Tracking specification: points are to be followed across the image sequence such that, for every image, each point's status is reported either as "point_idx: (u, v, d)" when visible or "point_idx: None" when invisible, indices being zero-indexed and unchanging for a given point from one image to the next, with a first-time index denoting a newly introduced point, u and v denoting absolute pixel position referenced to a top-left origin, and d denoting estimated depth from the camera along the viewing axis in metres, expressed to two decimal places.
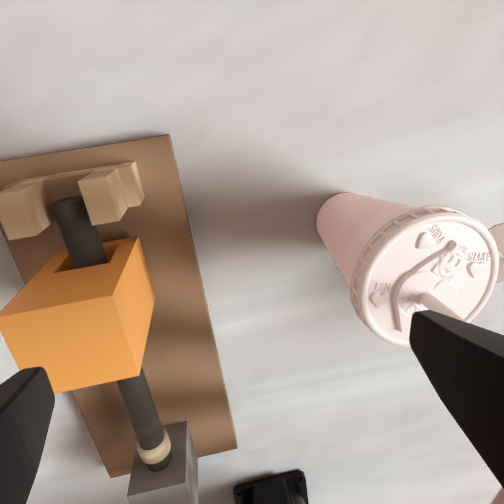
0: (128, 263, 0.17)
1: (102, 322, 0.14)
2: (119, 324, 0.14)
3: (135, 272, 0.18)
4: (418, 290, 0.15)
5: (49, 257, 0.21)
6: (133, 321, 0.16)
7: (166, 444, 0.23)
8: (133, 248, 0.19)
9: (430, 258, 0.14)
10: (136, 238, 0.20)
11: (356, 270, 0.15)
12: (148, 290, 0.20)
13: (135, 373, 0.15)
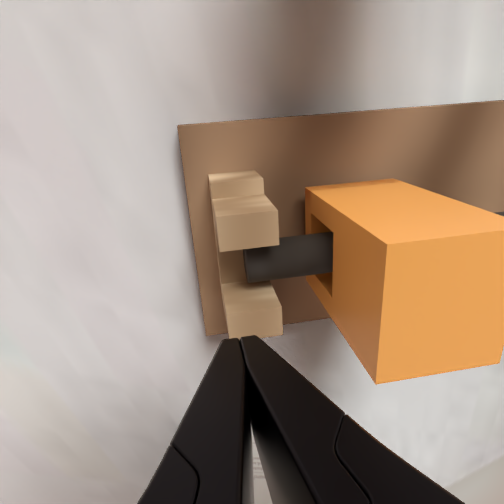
0: (340, 208, 0.12)
1: (424, 264, 0.09)
2: (437, 242, 0.09)
3: (354, 200, 0.13)
4: None
5: None
6: (432, 217, 0.10)
7: None
8: (320, 196, 0.14)
9: None
10: (307, 190, 0.15)
11: None
12: (383, 186, 0.14)
13: None
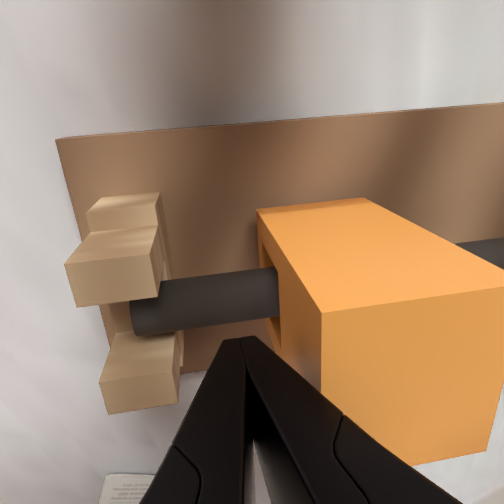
0: (283, 243, 0.09)
1: (377, 336, 0.07)
2: (394, 306, 0.06)
3: (306, 230, 0.10)
4: None
5: (244, 328, 0.15)
6: (395, 263, 0.08)
7: None
8: (267, 224, 0.11)
9: None
10: (257, 213, 0.12)
11: None
12: (347, 209, 0.12)
13: None
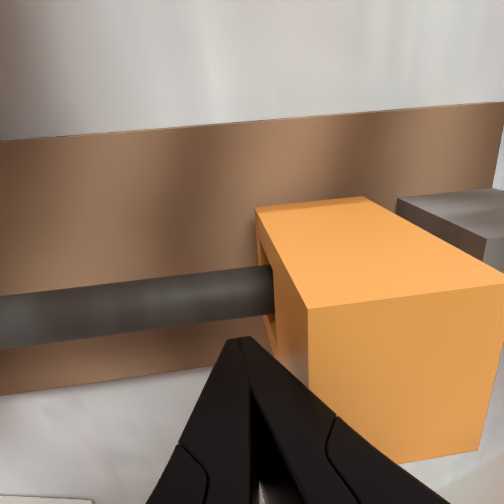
0: (278, 240, 0.09)
1: (364, 333, 0.07)
2: (380, 304, 0.06)
3: (301, 228, 0.10)
4: None
5: (49, 351, 0.15)
6: (386, 260, 0.08)
7: None
8: (264, 221, 0.11)
9: None
10: (255, 211, 0.12)
11: None
12: (345, 207, 0.12)
13: None
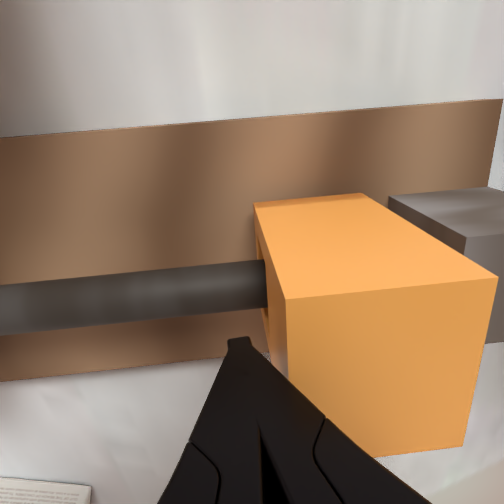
0: (269, 234, 0.10)
1: (342, 325, 0.07)
2: (358, 296, 0.07)
3: (295, 223, 0.10)
4: None
5: (46, 340, 0.15)
6: (371, 255, 0.08)
7: None
8: (259, 216, 0.11)
9: None
10: (254, 206, 0.13)
11: None
12: (341, 204, 0.12)
13: (489, 283, 0.07)
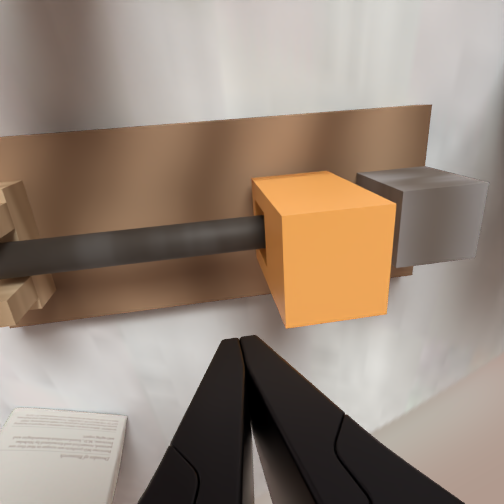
0: (267, 192, 0.15)
1: (313, 232, 0.12)
2: (321, 214, 0.12)
3: (282, 187, 0.16)
4: None
5: (104, 286, 0.20)
6: (330, 198, 0.13)
7: None
8: (258, 184, 0.17)
9: None
10: (252, 180, 0.18)
11: None
12: (313, 176, 0.17)
13: (391, 207, 0.12)
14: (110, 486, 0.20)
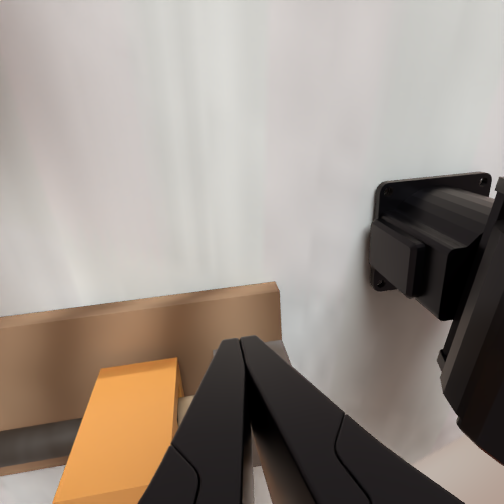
0: (85, 422, 0.16)
1: None
2: (92, 496, 0.13)
3: (108, 405, 0.16)
4: None
5: None
6: (124, 453, 0.14)
7: (184, 410, 0.18)
8: (93, 393, 0.17)
9: None
10: (99, 373, 0.19)
11: None
12: (153, 376, 0.18)
13: None
14: None
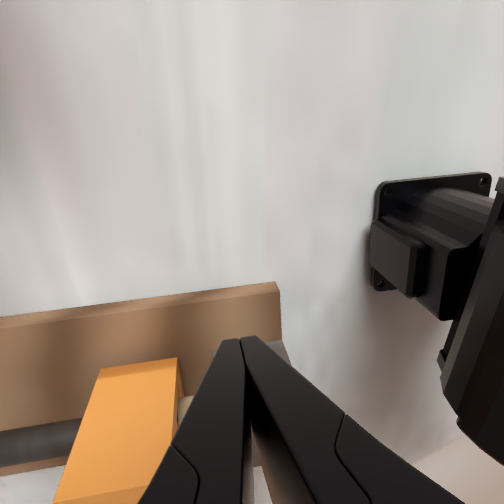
0: (85, 422, 0.16)
1: None
2: (93, 497, 0.13)
3: (108, 405, 0.16)
4: None
5: None
6: (124, 453, 0.14)
7: (184, 410, 0.18)
8: (93, 393, 0.17)
9: None
10: (99, 373, 0.19)
11: None
12: (153, 376, 0.18)
13: None
14: None
